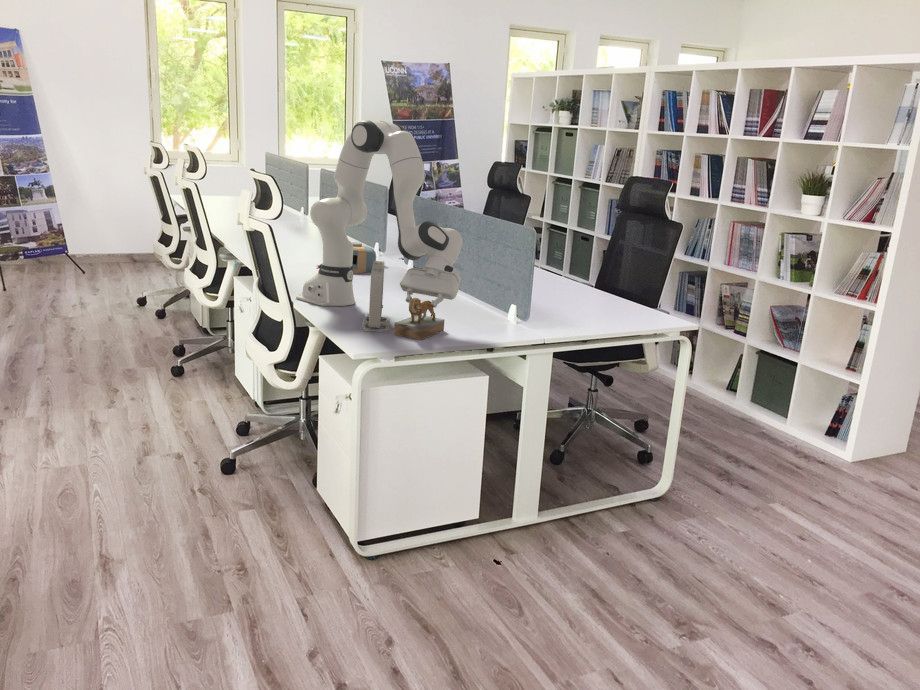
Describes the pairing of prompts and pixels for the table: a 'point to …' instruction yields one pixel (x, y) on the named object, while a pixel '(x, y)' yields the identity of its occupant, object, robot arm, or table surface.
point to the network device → (376, 300)
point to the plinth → (419, 327)
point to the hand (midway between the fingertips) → (420, 304)
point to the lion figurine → (420, 309)
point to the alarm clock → (362, 258)
